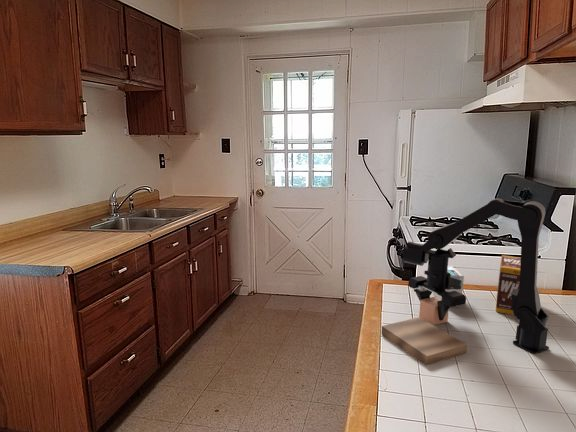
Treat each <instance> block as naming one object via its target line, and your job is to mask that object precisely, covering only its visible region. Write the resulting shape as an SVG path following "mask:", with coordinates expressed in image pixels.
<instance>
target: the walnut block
mask: <svg viewBox="0 0 576 432" xmlns="http://www.w3.org/2000/svg"><path fill="white" fill-rule="evenodd" d="M381 335H382V336H383V337H385V338H386V339H388V340H389V341H391V342H392V343H394V344H395V345H397V346H398V347H399V348H401V349H402V350H404V351H405V352H407V353H408V354H410V355H411V356H413V357H414V358H415V359H417V360H418V361H419V362H421V363H422V364H424V365H425V366H428V365H431V364H435V363H439V362H441V361H444V360H447V359H452V358H454V357H458V356H461V355H465V354H467V348H468V344H467V343H465V342H464V341H462V340H460V339H458V338H456V337H455V336H453V335H451V334H450V333H448V332H446V331H444V330H442V329H441V328H438V327H437V326H435V325H432V324H430V323H429V322H427V321H425V320H423V319H421V318H420V317H419V316H418V317H414V318H409V319H406V320H402V321H398V322H393V323H389V324H384V325H381Z"/></svg>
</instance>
